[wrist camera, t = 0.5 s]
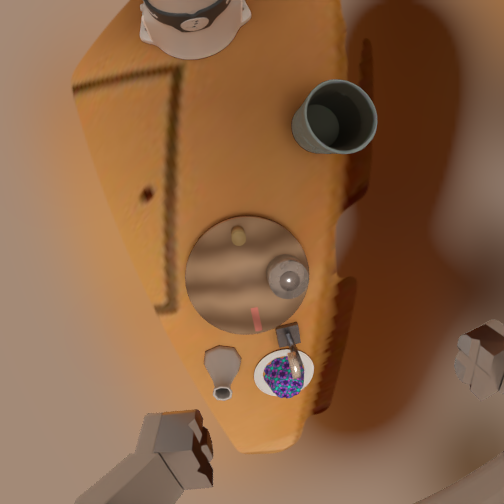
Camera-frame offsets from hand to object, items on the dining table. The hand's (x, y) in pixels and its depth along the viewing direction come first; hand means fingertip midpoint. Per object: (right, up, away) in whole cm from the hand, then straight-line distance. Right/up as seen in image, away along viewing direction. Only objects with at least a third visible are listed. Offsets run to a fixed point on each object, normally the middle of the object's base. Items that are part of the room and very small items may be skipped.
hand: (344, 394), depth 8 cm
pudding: (+4, -20, +51) cm, 55 cm away
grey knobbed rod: (+4, -11, +49) cm, 50 cm away
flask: (-8, -16, +49) cm, 53 cm away
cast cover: (+3, +1, +42) cm, 43 cm away
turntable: (-3, 0, +45) cm, 45 cm away
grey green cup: (+8, +24, +40) cm, 47 cm away
